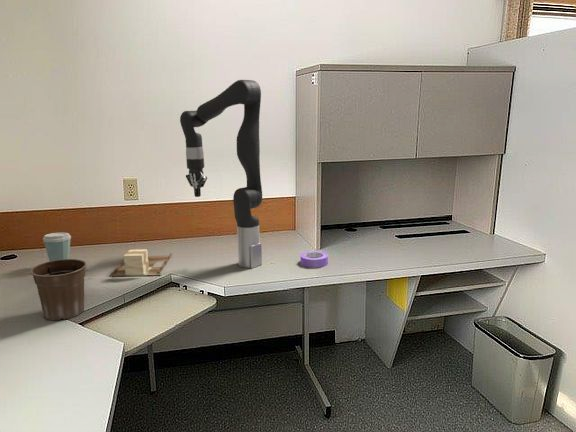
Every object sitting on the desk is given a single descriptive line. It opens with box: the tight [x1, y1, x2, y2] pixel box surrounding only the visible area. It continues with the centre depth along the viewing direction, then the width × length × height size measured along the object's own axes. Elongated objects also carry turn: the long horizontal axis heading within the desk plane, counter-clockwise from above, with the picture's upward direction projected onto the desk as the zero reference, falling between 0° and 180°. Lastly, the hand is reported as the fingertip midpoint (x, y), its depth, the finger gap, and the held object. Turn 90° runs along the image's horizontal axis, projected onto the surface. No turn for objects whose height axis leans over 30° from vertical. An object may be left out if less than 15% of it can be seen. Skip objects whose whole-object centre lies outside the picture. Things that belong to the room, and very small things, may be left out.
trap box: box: [111, 253, 173, 278], centre depth 195 cm, size 23×19×2 cm
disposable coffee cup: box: [42, 232, 72, 262], centre depth 195 cm, size 11×11×15 cm
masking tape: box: [300, 250, 329, 269], centre depth 197 cm, size 12×12×4 cm
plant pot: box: [30, 258, 87, 321], centre depth 151 cm, size 16×16×16 cm
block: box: [123, 248, 149, 275], centre depth 186 cm, size 8×7×8 cm
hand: (197, 196), depth 206 cm, fingers closed
